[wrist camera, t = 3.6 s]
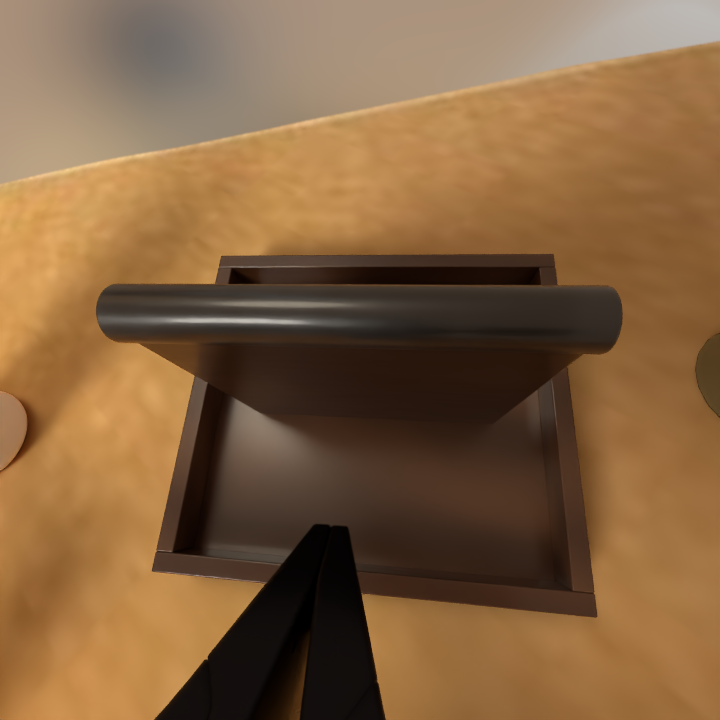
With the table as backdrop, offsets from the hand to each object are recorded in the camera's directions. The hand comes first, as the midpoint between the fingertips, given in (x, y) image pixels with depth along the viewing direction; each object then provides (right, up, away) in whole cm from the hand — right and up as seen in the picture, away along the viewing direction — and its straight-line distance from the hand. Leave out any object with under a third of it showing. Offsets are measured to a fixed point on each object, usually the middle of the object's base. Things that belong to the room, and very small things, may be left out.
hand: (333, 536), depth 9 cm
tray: (+1, +2, +11) cm, 11 cm away
